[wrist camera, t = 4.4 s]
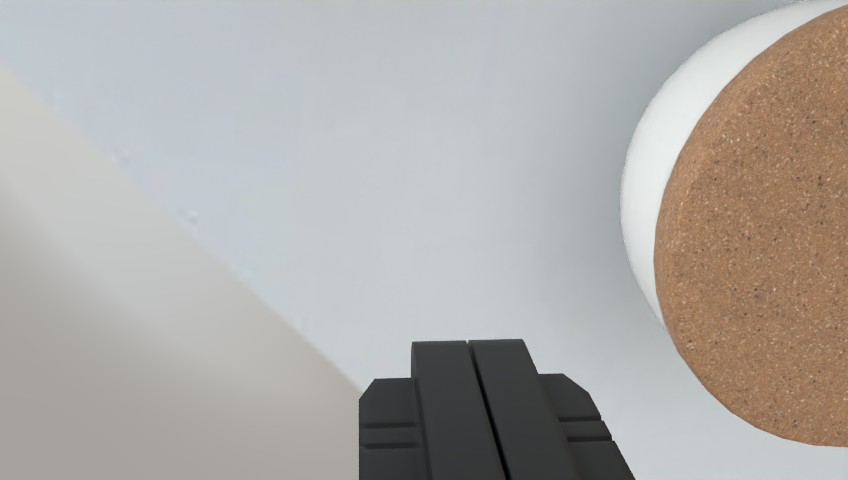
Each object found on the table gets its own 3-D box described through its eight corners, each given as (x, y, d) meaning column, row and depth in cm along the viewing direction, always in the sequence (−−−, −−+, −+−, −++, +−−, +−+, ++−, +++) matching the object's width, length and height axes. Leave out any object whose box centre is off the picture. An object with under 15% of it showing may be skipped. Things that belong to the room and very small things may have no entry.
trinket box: (800, 353, 27) (1015, 542, 18) (519, 259, 25) (611, 422, 16) (971, 56, 24) (1328, 113, 15) (668, -79, 22) (879, -103, 13)
